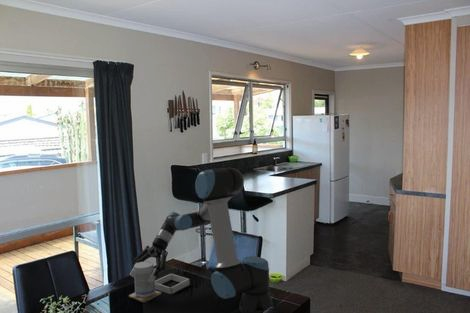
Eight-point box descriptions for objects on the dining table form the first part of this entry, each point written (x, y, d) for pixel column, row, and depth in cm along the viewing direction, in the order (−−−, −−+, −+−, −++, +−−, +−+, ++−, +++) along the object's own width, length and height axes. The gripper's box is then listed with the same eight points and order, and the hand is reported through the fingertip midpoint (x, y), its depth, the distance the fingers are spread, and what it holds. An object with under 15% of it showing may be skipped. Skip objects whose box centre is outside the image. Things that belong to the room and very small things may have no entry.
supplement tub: (158, 294, 194) (156, 265, 192) (139, 299, 189) (137, 269, 187) (150, 287, 202) (149, 259, 200) (132, 292, 197) (130, 263, 195)
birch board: (161, 293, 196) (161, 292, 196) (144, 302, 188) (143, 300, 188) (146, 288, 203) (146, 287, 203) (128, 296, 194) (128, 295, 194)
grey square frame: (189, 284, 206) (189, 279, 206) (170, 294, 196) (170, 288, 195) (171, 278, 215) (170, 273, 214) (151, 287, 204) (151, 282, 203)
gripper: (183, 248, 198) (162, 288, 188) (149, 240, 213) (128, 276, 202) (175, 240, 193) (153, 281, 183) (141, 232, 208) (119, 269, 198)
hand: (140, 278), depth 193 cm, fingers open, 13 cm apart
